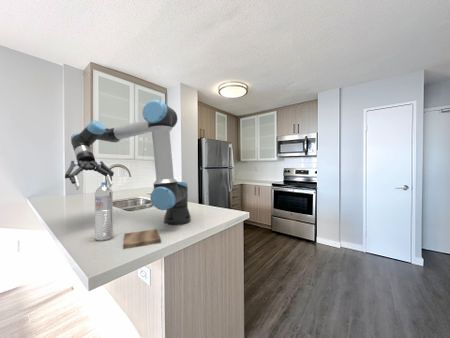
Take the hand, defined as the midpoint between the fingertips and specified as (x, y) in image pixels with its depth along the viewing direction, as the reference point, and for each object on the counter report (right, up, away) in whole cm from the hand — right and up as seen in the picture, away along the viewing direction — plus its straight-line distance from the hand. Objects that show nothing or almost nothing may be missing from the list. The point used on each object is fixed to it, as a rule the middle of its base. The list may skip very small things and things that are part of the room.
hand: (95, 186), depth 91 cm
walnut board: (+25, -22, -7) cm, 35 cm away
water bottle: (+8, -23, -6) cm, 25 cm away
